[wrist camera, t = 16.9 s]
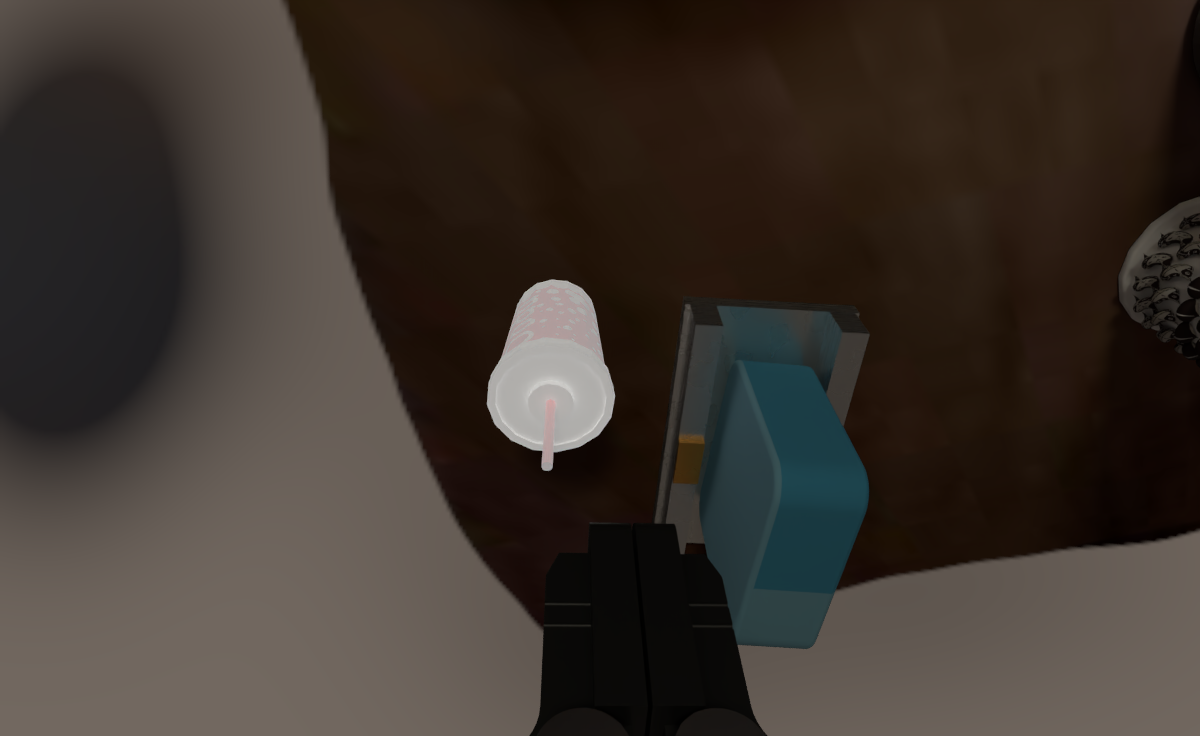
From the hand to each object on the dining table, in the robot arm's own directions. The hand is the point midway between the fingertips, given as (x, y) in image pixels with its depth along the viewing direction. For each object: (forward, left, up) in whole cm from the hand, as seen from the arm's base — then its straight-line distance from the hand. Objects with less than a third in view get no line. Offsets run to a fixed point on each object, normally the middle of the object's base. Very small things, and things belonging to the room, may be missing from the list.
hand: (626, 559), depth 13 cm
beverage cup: (+2, +10, -30) cm, 32 cm away
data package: (-11, +17, -29) cm, 35 cm away
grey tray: (-11, +18, -30) cm, 36 cm away
